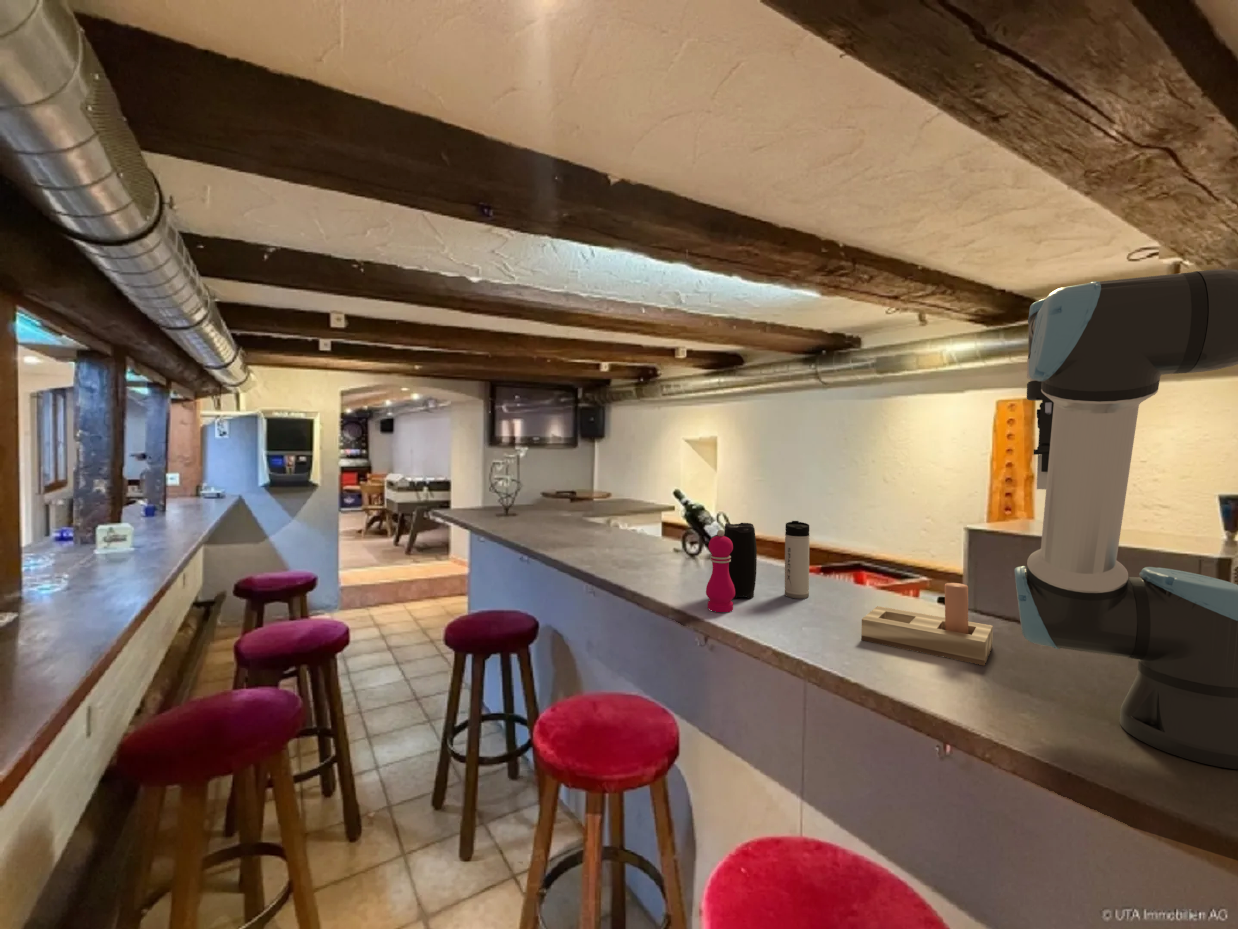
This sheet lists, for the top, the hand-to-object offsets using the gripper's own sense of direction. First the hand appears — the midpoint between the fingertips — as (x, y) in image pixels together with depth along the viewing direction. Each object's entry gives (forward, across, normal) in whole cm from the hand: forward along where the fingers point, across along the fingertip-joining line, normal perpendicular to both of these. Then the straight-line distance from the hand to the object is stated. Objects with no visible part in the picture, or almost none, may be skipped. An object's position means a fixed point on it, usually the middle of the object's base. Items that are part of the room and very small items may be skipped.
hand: (1047, 487), depth 113 cm
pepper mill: (+33, -16, +64) cm, 74 cm away
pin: (+32, -11, +13) cm, 36 cm away
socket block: (+33, -11, +19) cm, 39 cm away
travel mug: (+33, +8, +54) cm, 64 cm away
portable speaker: (+33, -2, +66) cm, 74 cm away
